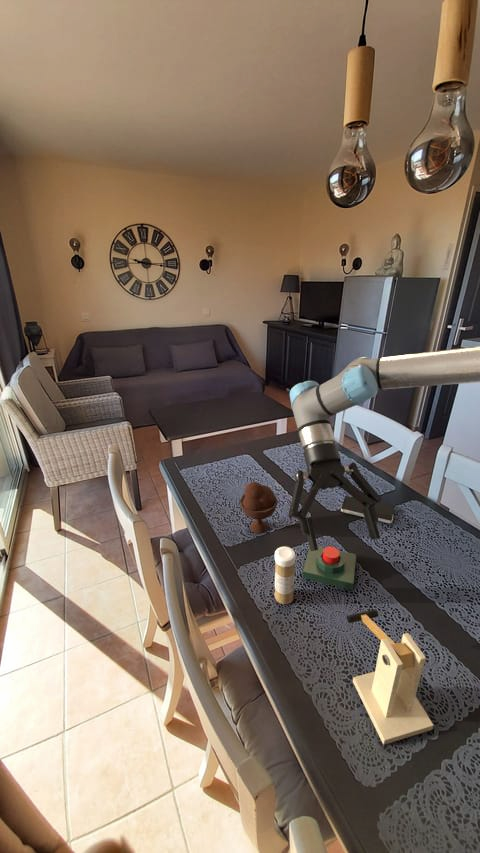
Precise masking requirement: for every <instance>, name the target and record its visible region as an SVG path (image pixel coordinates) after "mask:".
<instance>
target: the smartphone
mask: <svg viewBox="0 0 480 853" xmlns="http://www.w3.org/2000/svg"><path fill="white" fill-rule="evenodd" d="M364 508H366V507H365V506H363V505H362V504H361V503H360V502H359V501H357V500H356V499H355V498H354V497H352V496H350V495H345V496H344V498H343V501H342V505H341V507H340V512H342V513H344V514H345V513H346V514H349V515H353V516H357V517H362V518H364V514H363V511H362V509H364ZM375 510H376V513H377V516H378V521H377V522H383V523H387V524H393V522H394V521H393V520H394V513H395V512H394V511H395V506H394V505H391V504H390V505H389V504H385V503H381V502H378V503H376V505H375Z"/></svg>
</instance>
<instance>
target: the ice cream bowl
mask: <svg viewBox="0 0 480 853" xmlns="http://www.w3.org/2000/svg"><path fill="white" fill-rule="evenodd" d="M278 503H279V499H277V497H276V494H275V493H274V491H273V489H272V488H271V487H269V486H267V485H265V484H262V483H260V482H258V481H250V482H249V483H247V484H246V485H245V488H244V493H243V494H242V496H241V498H240V499H239V505H240V507H241V510H242V511H243V513H244V515H246V516H247V517H248V518H251V519H253V520H254V521H252V522H250V525H249V529H250V531H251V532H253V533H255V534H264V533H265V532H267V531H268V529H269V525H268V524H267V522H266V521H264V520H265V519H267V518H269V517H271V516H273V515H274V513H275V511H276V508H277V507H278Z"/></svg>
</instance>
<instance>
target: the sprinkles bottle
mask: <svg viewBox="0 0 480 853" xmlns="http://www.w3.org/2000/svg"><path fill="white" fill-rule="evenodd" d="M296 559H297V558H296V552H295V550H294V549H293V548H291V547H290V546H280V547H278V548H276V550H275V551H274V562H275V568H274V571H275V572H274V600H275V601H276V602H277V603H279V604H281V605H289V604H291V603H292V602H293V601H294V589H295V572H296V571H295V564H296Z"/></svg>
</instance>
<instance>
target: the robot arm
mask: <svg viewBox="0 0 480 853" xmlns="http://www.w3.org/2000/svg"><path fill="white" fill-rule="evenodd" d="M474 383H476V384H477V383H480V345H476V346H468V347H460V348H451V349H443V350H434V351H426V352H419V353H418V352H417V353H409V354H403V355H393V356H385V357H384V356H383V357H377V358H371V357H368V356H362V357H361V356H360V357H358V358H355V359H354V360H352V361H351V362H350V363H349V364H348V365H347V366H346V367H345V368H344V369H343V370H341V372H339V374H337V375H336V376H334V377H332V378H331V379H328V380H327V381H325V382H323V383H322V384H319V383H318V382H317V381H315V380H306V381H304V382H299V383H297V384H295V385H294V386H292V387H291V389H290V390H289V399H290V407H291V410H292V413H293V416H294V420H295V424H296V427H297V432H298V437H299V440H300V444H301V449H302V450H303V458H304V460H305V464H306V468H307V471H304V470H300V469H299V470H298V471H297V472H295V474H294V480H295V481H294V482H295V485H294V489H293V494H292V498H291V502H290V506H289V510H288V517H289V518H293V519H297V521H298V522H299V527H300V531H301V534H302V535H303V536H305V535H306V538H307V542H308V548H309V547H310V551H316V550H318V543H317V538H316V534H315V530H314V526H313V521H312V517H311V516H308V513H309V511H310V509H311V506H312V505H313V503H314V501H315V499H316V497H317V495H318V493H319V491H320V490H322V491H323V490H327V489H335V488H337V487H338V488H339V489H342V490H343V491H345V492H346V493H347V494H348V495H349V496H350V497H354V498H355V499H356V500H357V501H359V502H360V503H361V504H362V505H363V506H365V507H366V508H364V509H362V511H363V514H364V517H363V518H364V520H365V525H366V528H367V531H368V534H369V537H370V540H373V541H374V540H378V539H381V535H380V532H379V529H378V524H377V523H376V522H379V521H378V516H377V513H376V510H375V505H376V503H381V501H382V497H381V496H380V495H379V493H378V492H377V491H376V490H375V489H374V488H373V486H372V485H371V484H370V483H369V481H368V480H367V479H366V478H365V476H364V475H363V474H362V473H361V472H360V470H359V468H358V466H357V464H356V462H351V463H350V464H348V465H343V464H342V461H341V455H340V452H339V448H338V446H337V444H336V439H335V435H334V431H333V428H332V424H331V420H330V417H332V416H335V415H336V414H339V413H341V412H344V411H346V410H349V409H351V408H352V407H356V406H357V405H360V404H364V403H366V402H367V401H368V400H370V399H372V398H374V397H376V396H377V394H378V391H379V390H380V391H381V390H388V389H389V390H392V389H393V390H394V389H404V388H406V389H407V388H420V387H432V386H433V387H434V386H446V385H459V384H474ZM345 473H346V475H348V476H349V477H350V479H352V481H353V482H354V484H356V485H354V484H353V483H352V482H351V481H350V480H349V479H348V478H347V477H346V476H345ZM307 478H308V479H309V480H310V481H311V482H312V484H311V486H310V488H309V490H308V493H307V495H306V497H305V500H303V503H302V505H301V507H300V502H301V499H302V494H303V490H304V485H305V482H306V481H307ZM299 508H300V509H299ZM307 516H308V517H307Z"/></svg>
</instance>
